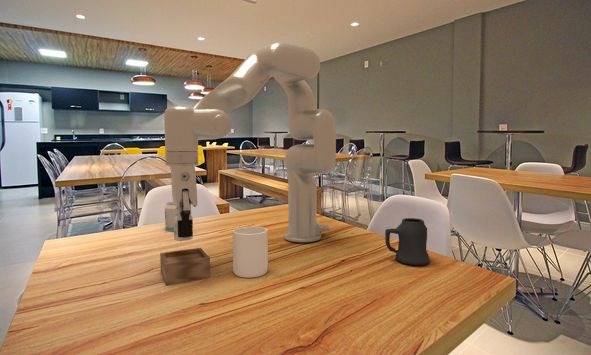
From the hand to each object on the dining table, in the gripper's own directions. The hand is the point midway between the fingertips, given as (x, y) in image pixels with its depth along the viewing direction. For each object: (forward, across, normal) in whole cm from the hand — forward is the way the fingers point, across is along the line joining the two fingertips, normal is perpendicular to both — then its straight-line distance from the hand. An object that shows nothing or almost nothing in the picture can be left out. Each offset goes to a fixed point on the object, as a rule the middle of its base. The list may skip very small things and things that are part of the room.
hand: (183, 233), depth 81 cm
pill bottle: (+2, 0, 0) cm, 2 cm away
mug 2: (+10, -14, -58) cm, 61 cm away
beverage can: (+10, +45, -2) cm, 46 cm away
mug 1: (+10, -4, -16) cm, 20 cm away
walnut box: (+11, 0, 0) cm, 11 cm away
